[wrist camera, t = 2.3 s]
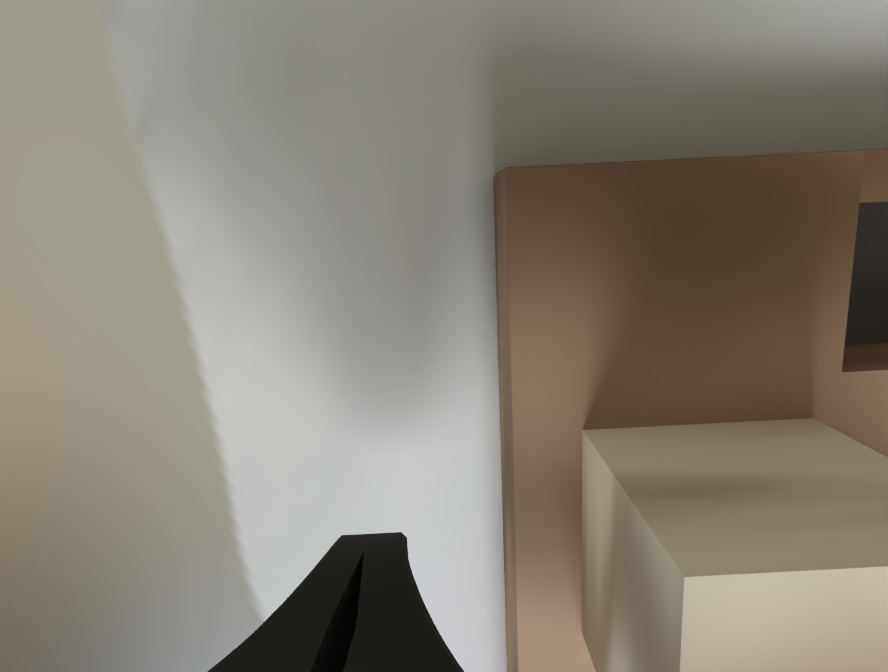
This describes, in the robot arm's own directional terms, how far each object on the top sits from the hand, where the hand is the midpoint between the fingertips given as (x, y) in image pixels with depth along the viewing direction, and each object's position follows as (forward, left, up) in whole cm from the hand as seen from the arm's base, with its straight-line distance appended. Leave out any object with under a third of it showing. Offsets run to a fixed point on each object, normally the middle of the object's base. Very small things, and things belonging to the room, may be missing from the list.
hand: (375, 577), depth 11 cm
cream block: (0, -7, -1) cm, 7 cm away
